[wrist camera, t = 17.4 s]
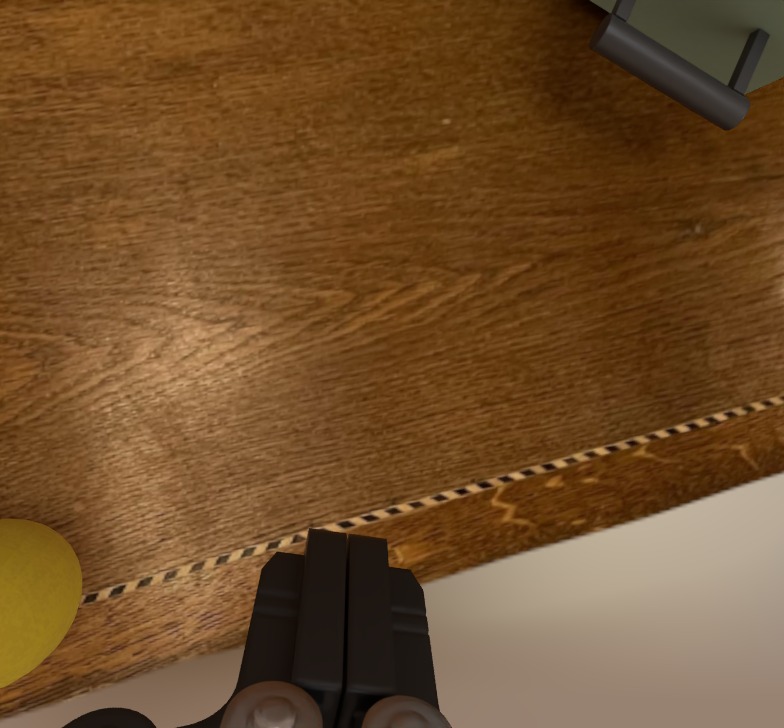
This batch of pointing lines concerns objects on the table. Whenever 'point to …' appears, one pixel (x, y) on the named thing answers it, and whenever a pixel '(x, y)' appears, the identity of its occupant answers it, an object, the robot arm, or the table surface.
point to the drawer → (697, 49)
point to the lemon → (34, 594)
